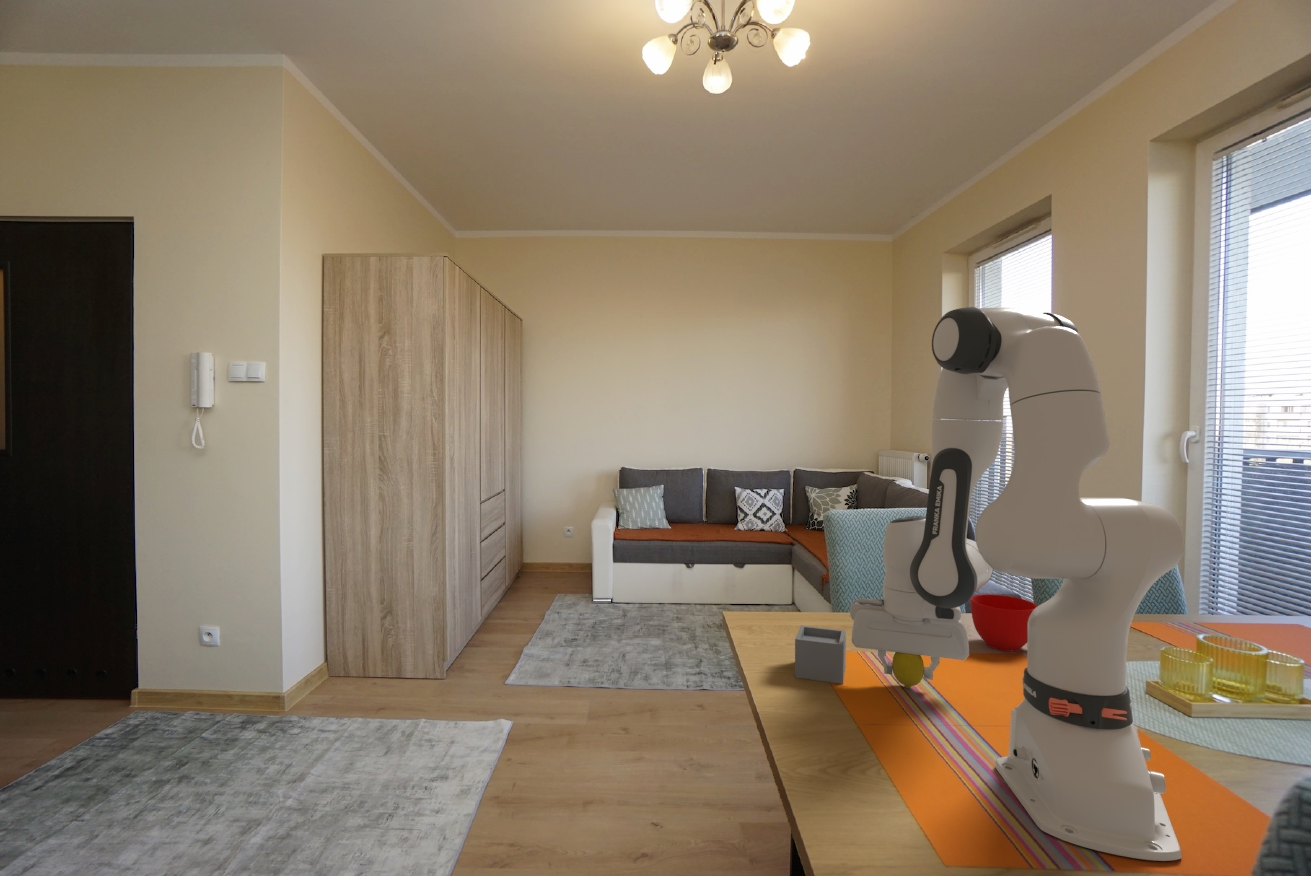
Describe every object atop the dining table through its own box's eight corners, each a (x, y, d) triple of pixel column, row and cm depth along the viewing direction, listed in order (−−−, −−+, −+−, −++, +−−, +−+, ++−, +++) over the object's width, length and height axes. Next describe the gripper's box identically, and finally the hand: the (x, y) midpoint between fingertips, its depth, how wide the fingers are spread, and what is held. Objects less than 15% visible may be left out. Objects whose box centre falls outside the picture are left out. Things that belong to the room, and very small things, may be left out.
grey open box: (843, 684, 114) (843, 644, 114) (794, 677, 117) (795, 639, 117) (845, 666, 123) (845, 630, 123) (800, 661, 126) (800, 625, 126)
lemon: (928, 687, 113) (928, 645, 113) (917, 697, 109) (917, 653, 109) (898, 679, 116) (898, 638, 116) (887, 688, 112) (887, 645, 112)
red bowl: (1066, 662, 125) (1066, 614, 125) (976, 652, 131) (976, 607, 131) (1047, 642, 138) (1048, 598, 138) (966, 634, 143) (966, 592, 143)
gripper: (849, 601, 113) (849, 674, 113) (970, 612, 106) (970, 690, 106) (850, 592, 119) (850, 662, 119) (966, 603, 112) (965, 677, 112)
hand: (908, 675), depth 112 cm, fingers closed on lemon, 5 cm apart
